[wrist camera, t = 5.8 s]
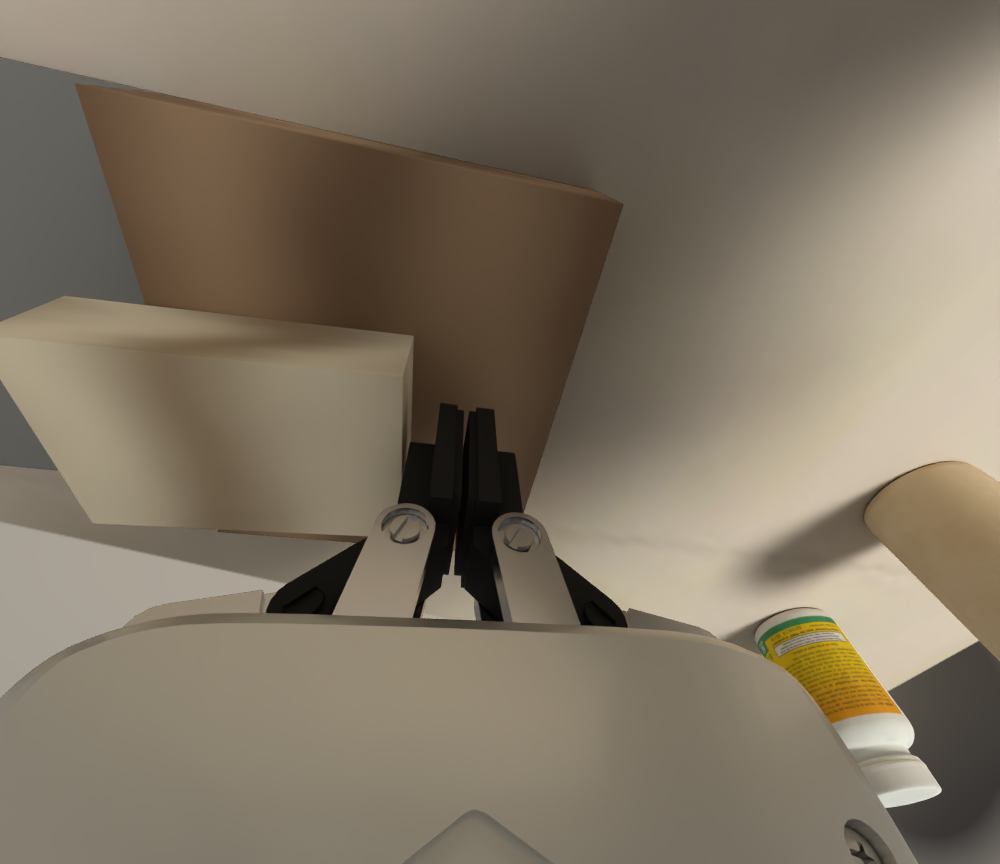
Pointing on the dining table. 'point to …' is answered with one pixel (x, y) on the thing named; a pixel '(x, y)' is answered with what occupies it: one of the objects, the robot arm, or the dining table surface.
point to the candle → (947, 539)
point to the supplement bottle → (849, 701)
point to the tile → (213, 415)
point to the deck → (362, 250)
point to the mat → (52, 218)
